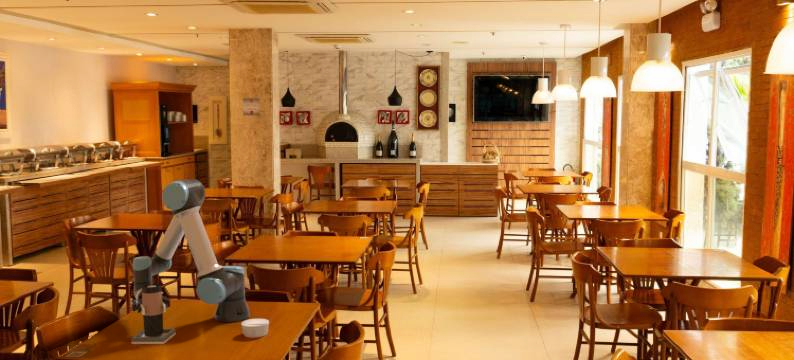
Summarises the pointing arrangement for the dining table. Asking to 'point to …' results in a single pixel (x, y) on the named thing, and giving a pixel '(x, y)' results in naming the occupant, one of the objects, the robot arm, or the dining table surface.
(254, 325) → the ramekin
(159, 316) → the travel mug
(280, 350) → the dining table surface
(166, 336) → the mug dock
